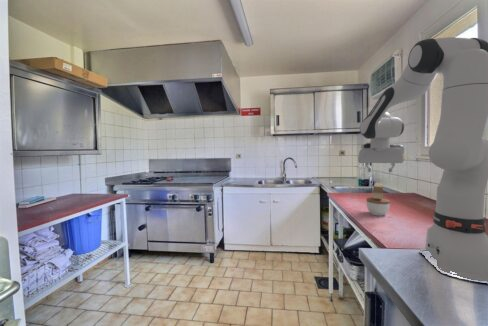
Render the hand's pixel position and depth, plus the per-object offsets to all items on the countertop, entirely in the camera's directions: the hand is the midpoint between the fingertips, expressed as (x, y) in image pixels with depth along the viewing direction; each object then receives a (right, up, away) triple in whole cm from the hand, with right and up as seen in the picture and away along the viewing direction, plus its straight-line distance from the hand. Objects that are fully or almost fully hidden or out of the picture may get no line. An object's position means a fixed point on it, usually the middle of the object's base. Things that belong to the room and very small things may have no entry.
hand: (379, 171), depth 125 cm
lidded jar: (0, -22, +2) cm, 22 cm away
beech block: (0, -13, +1) cm, 13 cm away
